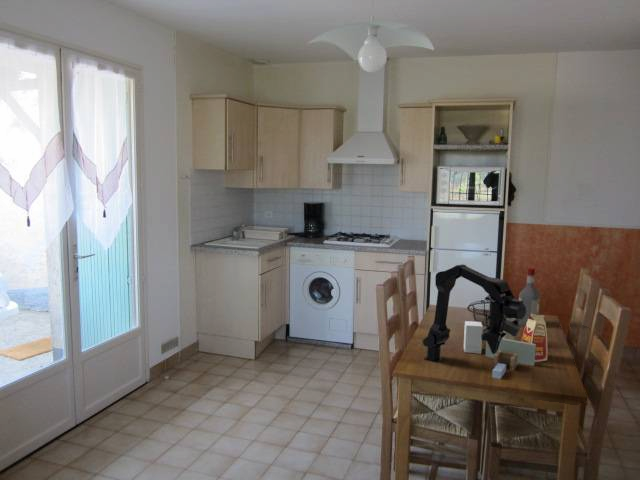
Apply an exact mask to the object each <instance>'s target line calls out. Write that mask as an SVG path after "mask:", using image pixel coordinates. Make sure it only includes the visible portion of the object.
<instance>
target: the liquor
mask: <svg viewBox="0 0 640 480" xmlns="http://www.w3.org/2000/svg"><path fill="white" fill-rule="evenodd" d="M526 274H527V275H526V276H527V277H526V285H525V287H524V288H523V289H522V290H520V292H519V294H518V300H521V301H523V304H524V305H525V307H526V314H525V316H524V318H523V319H521V320H520V321H519V325H520V326H523V327H525V326H526V324H527V321H528V318H530V317H531V314H534V315H540V301H541V300H540V299H541V294H540V292H539V291H538V290H537V289H536V287H535V282H534V281H535V275H536V268H534V267H527V273H526Z"/></svg>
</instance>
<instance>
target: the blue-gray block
mask: <svg viewBox="0 0 640 480" xmlns="http://www.w3.org/2000/svg"><path fill="white" fill-rule="evenodd" d="M506 372H507V365H506V364H501V363H498V364H497V365H496V366H495V367H493V369H492V375H491V378H494V379H499V380H501V379H502V378H503V376H504V375H505V373H506Z"/></svg>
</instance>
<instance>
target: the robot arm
mask: <svg viewBox="0 0 640 480" xmlns="http://www.w3.org/2000/svg"><path fill="white" fill-rule="evenodd" d="M461 277H462V278H463V279H465V280H467V281H469V282H472V283H473V284H475V285H477V286H480V287H481V288H482V289H483V290H484V292H486V293H487V294H488V295H487V296H486V297H484V300H485V301H489V309H488V315H487V319H488V325H487V326H486V330H485V331H483V332H482V335H481V339H482V341H486V340H487V342H488V345H489V347H490V349H491V352H492V354H495V353H496V352H497V351H498V348H499V344H500V341H501V340H502V337H504V336H505V335H506V333H503V330H504V331H505V332H507V333H509V334H511V335H512V336H514V338H515V337H516V336H517V335H518V334H519V332H520V330H521V325H519V321H518V319H519V320H521V319H523V318H524V316H525V314H526V308H525V305H524V304H523V301H521V300H519V299H515V295H514V294H513V292H512V290H511V288H510V285H509V282H508V281H506V280H505V279H502V278H497V277H490V276H488V275H486V274H483V273H482V272H480V271H477V270H475V269H472V268H471V267H468V266H467V265H466V264H457V265H455V266H453V267H451V268H449V269H447V270H442V271H438V272H437V273H436V274H435V283H434V284H435V288H436V289H437V297H436V305H435V312H434V320H433V323H432V325H431V326H430V328H429V330H428V332H427V333H428V334H427V336H426V337H425V338H424V339H423V340H422V345H423V346H424V347H426V356H424V357H423V360H424V361H425V360H427V361H430V362H435V363H439V362H440V361H442V360H443V359H444V357H443V356H441V353H442V352H441V350H442V349H441V347H442V346H444V345H445V344H446V342H447V341H448V340H449V339H450V337H451V336H450V333H451V329H450V328H448V326H447V319H448V318H447V317H448V310H449V304H450V303H449V301H450V295H451V291H452V290H453V289H454V287H455V285H456V283H457V282H456V281H457V280H458V279H460V278H461ZM506 316H508V317H512V318H516V320H514V321H512V322H511V321H508V320H507V317H506Z"/></svg>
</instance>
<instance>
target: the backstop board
mask: <svg viewBox="0 0 640 480" xmlns="http://www.w3.org/2000/svg"><path fill="white" fill-rule="evenodd" d="M498 350H499V351H505V352H510V353H515V354H518V359H517V364H521V365H526V366H532V367H534V366H535V365H536V364H535V363H536V362H535V350H536V344H533V343H527V342H521V341H519V340H515V339H514V340H510V339H504V338H502V340H501V341H500V344H499V348H498ZM494 355H495V354H492V352H491V349H490V347H489V345H488V342H487V340H485V357H487V358H490V359H491V358H492V359H494Z"/></svg>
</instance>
